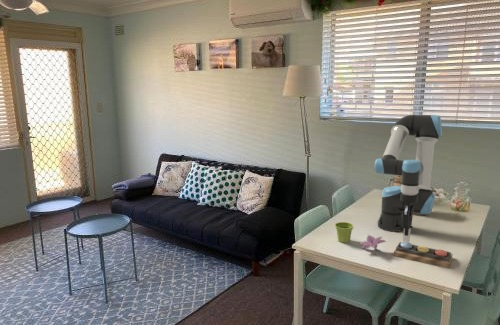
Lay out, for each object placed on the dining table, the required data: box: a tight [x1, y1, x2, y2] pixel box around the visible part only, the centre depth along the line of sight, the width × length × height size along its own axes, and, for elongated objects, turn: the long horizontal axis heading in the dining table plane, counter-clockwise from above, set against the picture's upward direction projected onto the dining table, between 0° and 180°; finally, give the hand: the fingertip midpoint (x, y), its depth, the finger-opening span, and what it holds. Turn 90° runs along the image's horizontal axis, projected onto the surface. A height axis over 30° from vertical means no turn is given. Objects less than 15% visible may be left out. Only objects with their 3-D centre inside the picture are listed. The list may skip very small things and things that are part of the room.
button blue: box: [400, 241, 413, 249], centre depth 178 cm, size 5×5×2 cm
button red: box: [435, 249, 448, 257], centre depth 170 cm, size 5×5×2 cm
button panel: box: [393, 241, 454, 269], centre depth 175 cm, size 23×12×4 cm, turn 56°
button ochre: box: [417, 245, 430, 253], centre depth 174 cm, size 5×5×2 cm
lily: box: [359, 234, 387, 256], centre depth 180 cm, size 12×12×10 cm
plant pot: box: [334, 221, 354, 244], centre depth 195 cm, size 9×9×9 cm
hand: (406, 241), depth 178 cm, fingers closed
